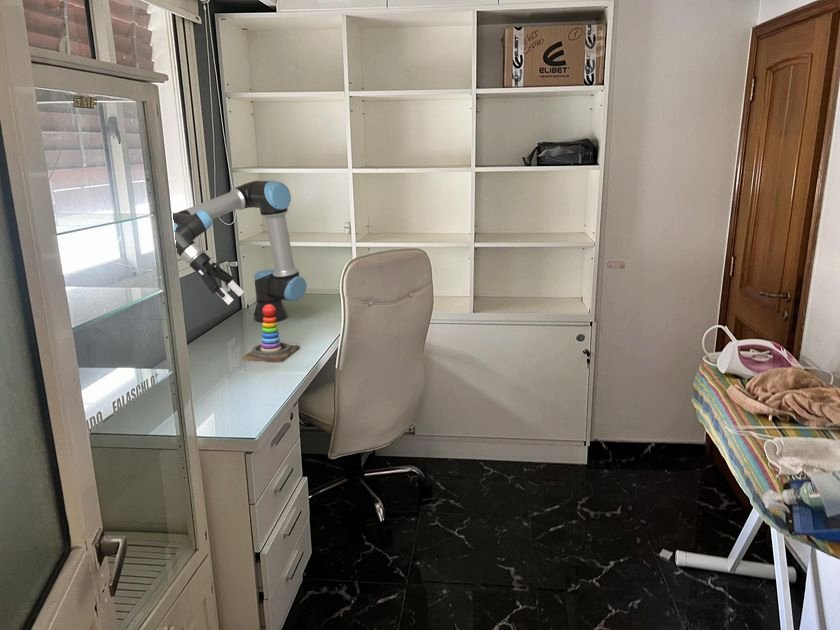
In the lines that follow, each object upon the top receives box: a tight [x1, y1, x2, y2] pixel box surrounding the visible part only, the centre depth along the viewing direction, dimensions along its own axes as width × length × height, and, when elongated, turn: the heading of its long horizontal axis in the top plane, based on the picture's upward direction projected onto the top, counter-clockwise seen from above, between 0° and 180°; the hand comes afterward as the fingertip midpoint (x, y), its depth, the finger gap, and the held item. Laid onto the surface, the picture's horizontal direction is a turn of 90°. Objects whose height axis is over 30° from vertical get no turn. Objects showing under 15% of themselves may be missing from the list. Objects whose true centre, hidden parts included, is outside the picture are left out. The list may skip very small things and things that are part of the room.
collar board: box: [241, 341, 301, 363], centre depth 250 cm, size 18×16×3 cm
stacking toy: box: [260, 304, 282, 353], centre depth 248 cm, size 8×8×19 cm
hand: (236, 298), depth 247 cm, fingers open, 13 cm apart
